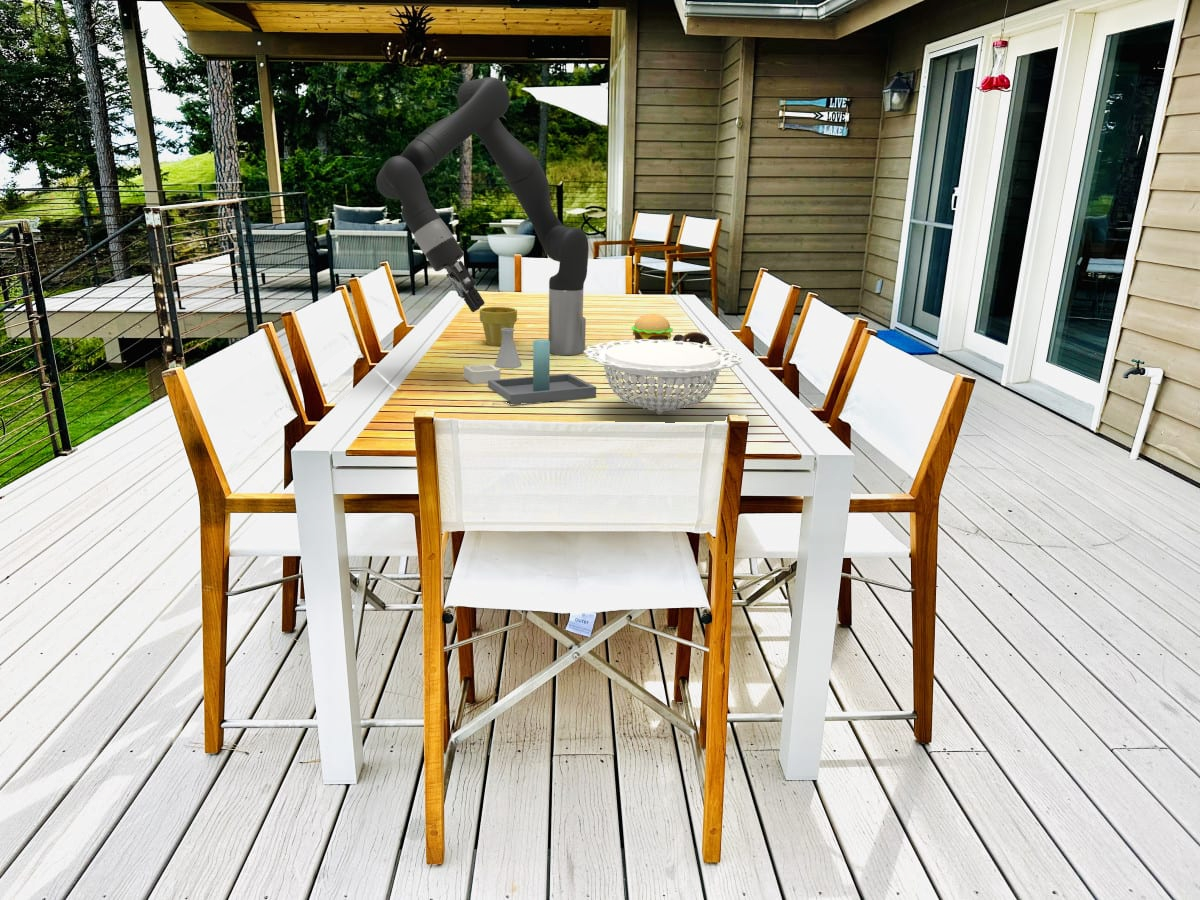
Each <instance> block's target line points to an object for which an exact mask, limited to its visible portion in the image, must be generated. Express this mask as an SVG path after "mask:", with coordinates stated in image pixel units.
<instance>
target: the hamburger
mask: <svg viewBox="0 0 1200 900" xmlns="http://www.w3.org/2000/svg"><path fill="white" fill-rule="evenodd" d="M631 330H632V335H633V336H634V339H633V340H640V339H649V340H671V338H672V334H671V332H673V331H674V328H673V327H671V324H670V321H669V320H668V319H667V318H666V317H664V316H662V315H660V314H655V313H647V314H645V315H642V316H640V317H638V318H637V319H636V320H635V322H634V325H633V326H632V327H631ZM643 341H645V340H643ZM664 342H665V341H664ZM636 343H637V342H636ZM655 343H657V342H655Z"/></svg>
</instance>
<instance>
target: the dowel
mask: <svg viewBox="0 0 1200 900" xmlns="http://www.w3.org/2000/svg"><path fill="white" fill-rule="evenodd" d="M532 353H533V354H532V377H533V391H546V390H549V375H551V374H550V366H551V364H550V363H551V362H550V360H551V359H550V357H551V355H550V354H551V353H550V341H549V340H548V339H542V338H541V339H534V340H533V342H532Z"/></svg>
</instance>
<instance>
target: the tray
mask: <svg viewBox="0 0 1200 900" xmlns="http://www.w3.org/2000/svg"><path fill="white" fill-rule="evenodd" d="M487 388H488V389H490V390H491V391H494V392H495V393H496V394H497V395H499V396H501V397H502V398H504V399H505V401H504V402H505V403H506V402H507V403H506V404H508V403H509V404H521V403H532V404H538V403H537V402H542V403H551V402H550V401H553V402H561V401H571V400H579V399H581V400H582V399H592V398H597V386H595V385H593V384H591V383H589V382H587V381H585V380H583V379H581V378H580V377H577V376H576V375H573V374H571V373H559V374H558V373H557V374H550V375H549V390H546V391H533V376H524V377H521V376H520V377H511V378H500V379H496V380H488V383H487ZM509 404H508V405H509Z"/></svg>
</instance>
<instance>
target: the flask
mask: <svg viewBox="0 0 1200 900" xmlns="http://www.w3.org/2000/svg"><path fill="white" fill-rule="evenodd" d="M501 331H502V333H503V334H502V343H501V346H500V349H499V351H498V354H497V358H496V360H495V362H494V365H493V366H494V367H496V368H498V369H507V370H509V369H512V370H513V369H519V368H521V367H522V366H523V364H522V361H521V359H520V356H519V353H518V351H517V348H516V345H515V340H514V332H515V328H502V329H501Z"/></svg>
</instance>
